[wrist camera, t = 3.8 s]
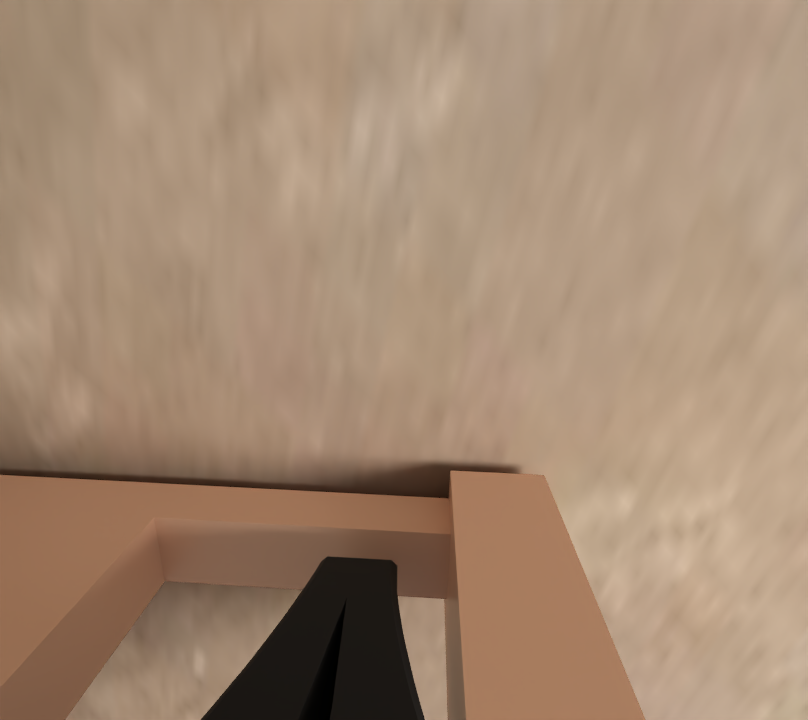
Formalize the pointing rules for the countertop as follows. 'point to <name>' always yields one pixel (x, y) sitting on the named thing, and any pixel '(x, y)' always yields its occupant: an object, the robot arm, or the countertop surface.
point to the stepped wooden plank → (292, 569)
